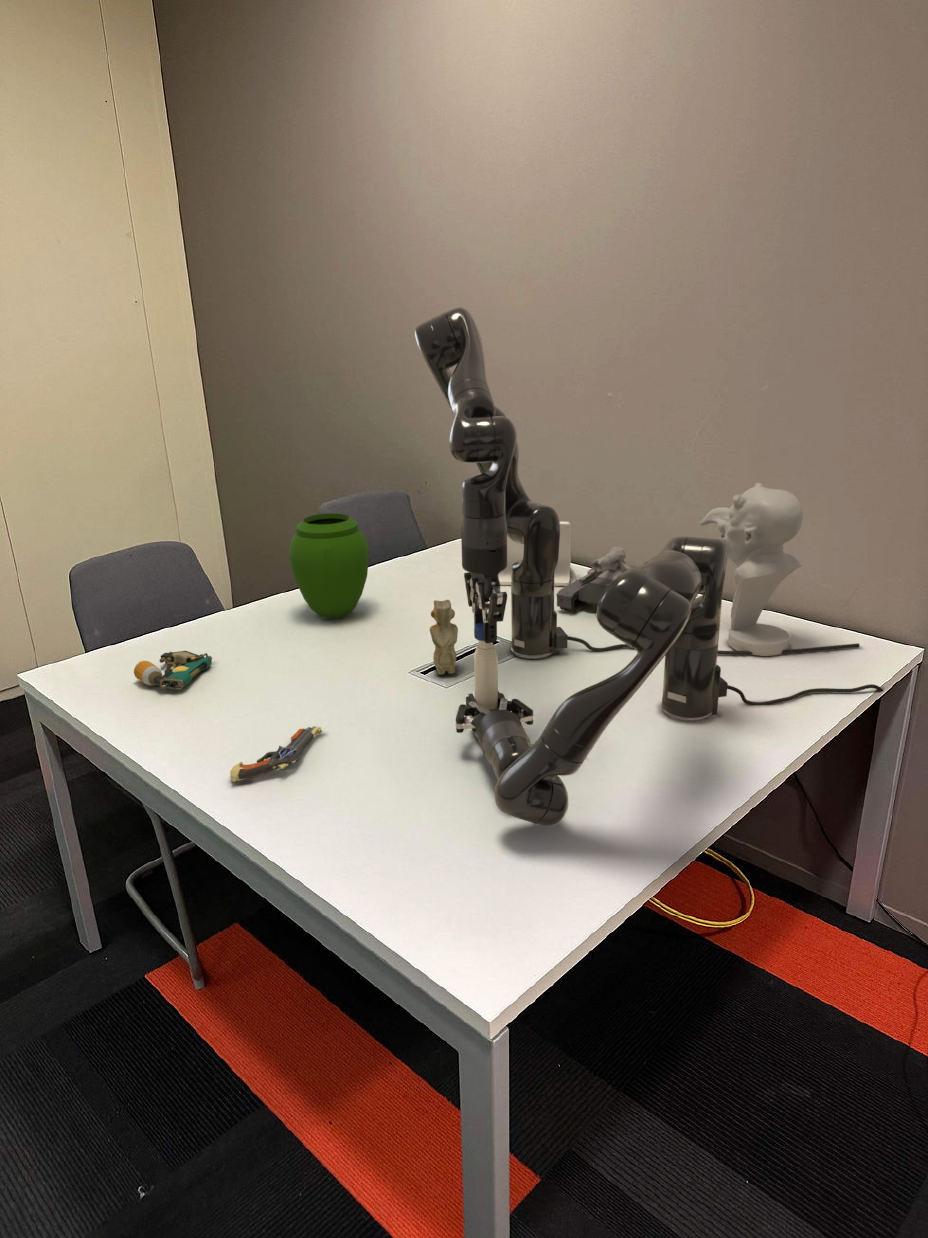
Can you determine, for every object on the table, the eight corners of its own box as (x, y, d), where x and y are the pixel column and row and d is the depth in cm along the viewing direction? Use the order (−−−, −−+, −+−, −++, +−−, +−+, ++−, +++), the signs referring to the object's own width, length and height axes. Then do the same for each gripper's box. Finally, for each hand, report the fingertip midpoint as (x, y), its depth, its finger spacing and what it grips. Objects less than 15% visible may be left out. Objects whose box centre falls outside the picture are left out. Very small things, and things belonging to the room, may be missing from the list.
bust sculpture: (728, 615, 205) (741, 470, 193) (809, 647, 185) (829, 488, 173) (677, 628, 198) (686, 478, 186) (755, 663, 178) (772, 498, 166)
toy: (603, 584, 229) (605, 530, 224) (673, 597, 218) (677, 540, 213) (555, 612, 210) (556, 553, 205) (630, 627, 199) (633, 566, 194)
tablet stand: (569, 585, 229) (570, 524, 223) (476, 584, 232) (475, 523, 226) (570, 566, 246) (571, 508, 240) (484, 564, 249) (483, 507, 243)
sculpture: (458, 662, 183) (456, 596, 178) (460, 676, 176) (457, 608, 171) (431, 663, 183) (428, 597, 177) (431, 677, 176) (428, 609, 171)
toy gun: (224, 771, 138) (281, 769, 136) (271, 724, 156) (322, 721, 154) (228, 786, 139) (285, 784, 137) (273, 737, 157) (324, 735, 155)
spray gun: (177, 659, 191) (231, 671, 185) (120, 684, 176) (176, 698, 171) (176, 641, 190) (230, 653, 184) (118, 665, 175) (174, 678, 169)
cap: (471, 640, 145) (471, 628, 144) (477, 632, 148) (477, 620, 148) (493, 642, 144) (493, 630, 143) (499, 634, 147) (499, 622, 147)
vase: (389, 608, 216) (383, 514, 208) (339, 633, 201) (330, 533, 192) (330, 596, 226) (322, 506, 218) (278, 619, 211) (267, 523, 202)
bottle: (479, 741, 150) (477, 635, 143) (472, 731, 154) (470, 627, 147) (501, 738, 152) (500, 632, 144) (494, 727, 155) (492, 624, 148)
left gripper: (448, 533, 145) (450, 627, 151) (479, 554, 133) (480, 656, 139) (488, 528, 148) (489, 621, 154) (523, 548, 135) (522, 649, 141)
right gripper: (548, 716, 137) (521, 673, 153) (461, 726, 135) (443, 681, 151) (547, 757, 140) (521, 711, 156) (462, 767, 138) (444, 719, 153)
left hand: (485, 637), depth 146 cm, fingers closed on cap, 3 cm apart
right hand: (483, 697), depth 153 cm, fingers closed on bottle, 4 cm apart
